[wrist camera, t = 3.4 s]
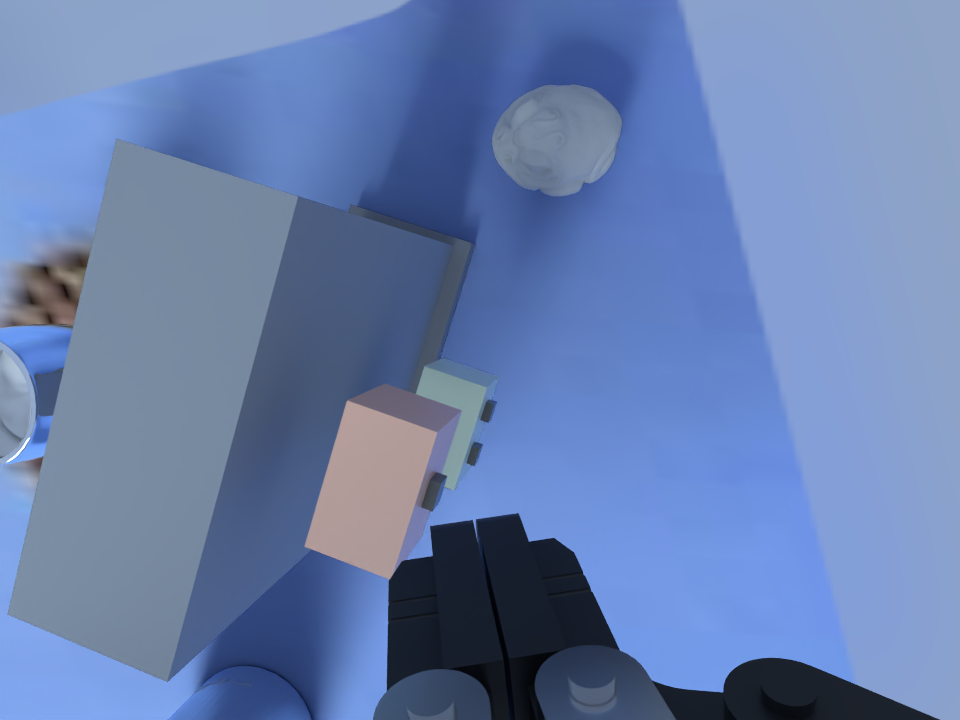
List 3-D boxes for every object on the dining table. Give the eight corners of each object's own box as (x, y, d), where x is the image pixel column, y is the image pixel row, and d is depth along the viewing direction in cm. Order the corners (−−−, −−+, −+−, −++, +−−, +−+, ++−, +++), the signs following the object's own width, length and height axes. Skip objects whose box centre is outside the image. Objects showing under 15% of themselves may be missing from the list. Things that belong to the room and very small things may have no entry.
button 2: (506, 379, 35) (495, 390, 31) (476, 471, 36) (462, 493, 32) (443, 357, 35) (424, 366, 31) (414, 449, 36) (393, 468, 32)
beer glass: (112, 322, 48) (-100, 336, 33) (204, 311, 47) (26, 320, 32) (128, 421, 49) (-75, 478, 34) (219, 413, 48) (51, 468, 33)
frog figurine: (494, 118, 43) (475, 85, 36) (608, 85, 41) (611, 45, 35) (517, 216, 43) (502, 202, 36) (630, 187, 42) (637, 166, 35)
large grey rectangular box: (475, 244, 44) (334, 189, 20) (397, 493, 46) (191, 707, 22) (357, 206, 45) (90, 112, 21) (287, 453, 47) (-22, 616, 23)
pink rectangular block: (472, 413, 25) (450, 436, 21) (431, 539, 26) (402, 584, 22) (385, 383, 26) (346, 400, 22) (347, 508, 26) (304, 546, 22)
